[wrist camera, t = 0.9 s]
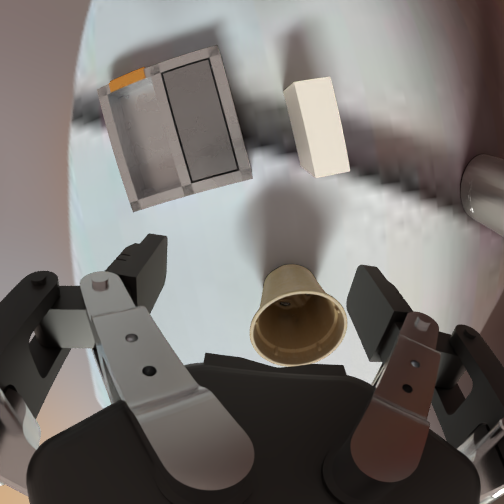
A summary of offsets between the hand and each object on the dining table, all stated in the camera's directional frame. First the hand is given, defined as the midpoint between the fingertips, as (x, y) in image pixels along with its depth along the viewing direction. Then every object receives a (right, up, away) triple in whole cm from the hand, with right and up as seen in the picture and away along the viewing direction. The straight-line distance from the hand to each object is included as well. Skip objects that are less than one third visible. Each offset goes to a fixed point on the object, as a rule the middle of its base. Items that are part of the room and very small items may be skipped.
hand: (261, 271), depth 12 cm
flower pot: (+4, -3, +23) cm, 24 cm away
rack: (-8, +13, +16) cm, 22 cm away
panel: (+5, +13, +16) cm, 21 cm away
